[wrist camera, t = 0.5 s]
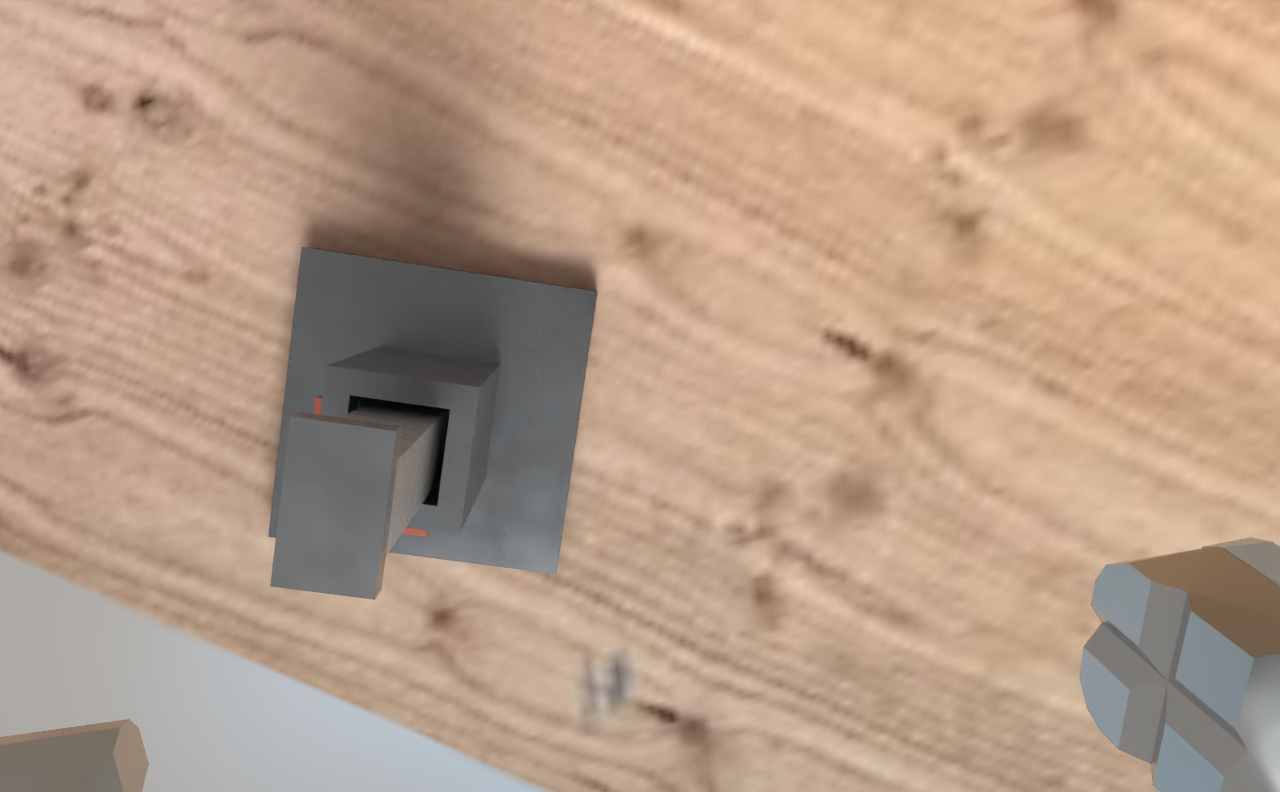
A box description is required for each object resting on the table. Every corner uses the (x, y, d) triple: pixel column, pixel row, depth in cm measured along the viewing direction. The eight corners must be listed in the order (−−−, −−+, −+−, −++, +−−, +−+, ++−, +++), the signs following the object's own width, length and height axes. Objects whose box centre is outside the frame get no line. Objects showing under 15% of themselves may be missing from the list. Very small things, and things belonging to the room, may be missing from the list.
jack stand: (310, 248, 51) (227, 240, 39) (596, 291, 52) (602, 296, 40) (277, 529, 52) (188, 604, 40) (556, 565, 53) (550, 649, 41)
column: (403, 359, 50) (286, 416, 30) (471, 369, 50) (399, 431, 30) (390, 462, 50) (266, 586, 30) (457, 472, 50) (378, 599, 31)
